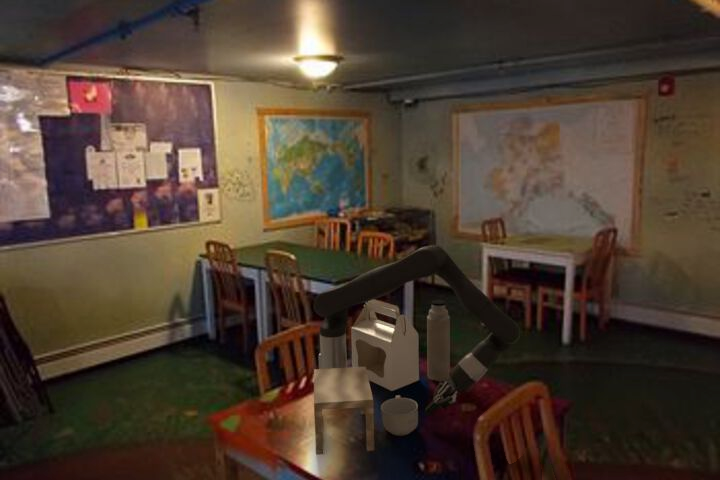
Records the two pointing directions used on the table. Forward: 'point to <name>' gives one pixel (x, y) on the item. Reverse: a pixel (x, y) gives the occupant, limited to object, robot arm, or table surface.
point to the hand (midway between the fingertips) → (427, 412)
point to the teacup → (400, 415)
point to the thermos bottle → (438, 342)
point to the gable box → (385, 346)
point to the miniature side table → (342, 398)
